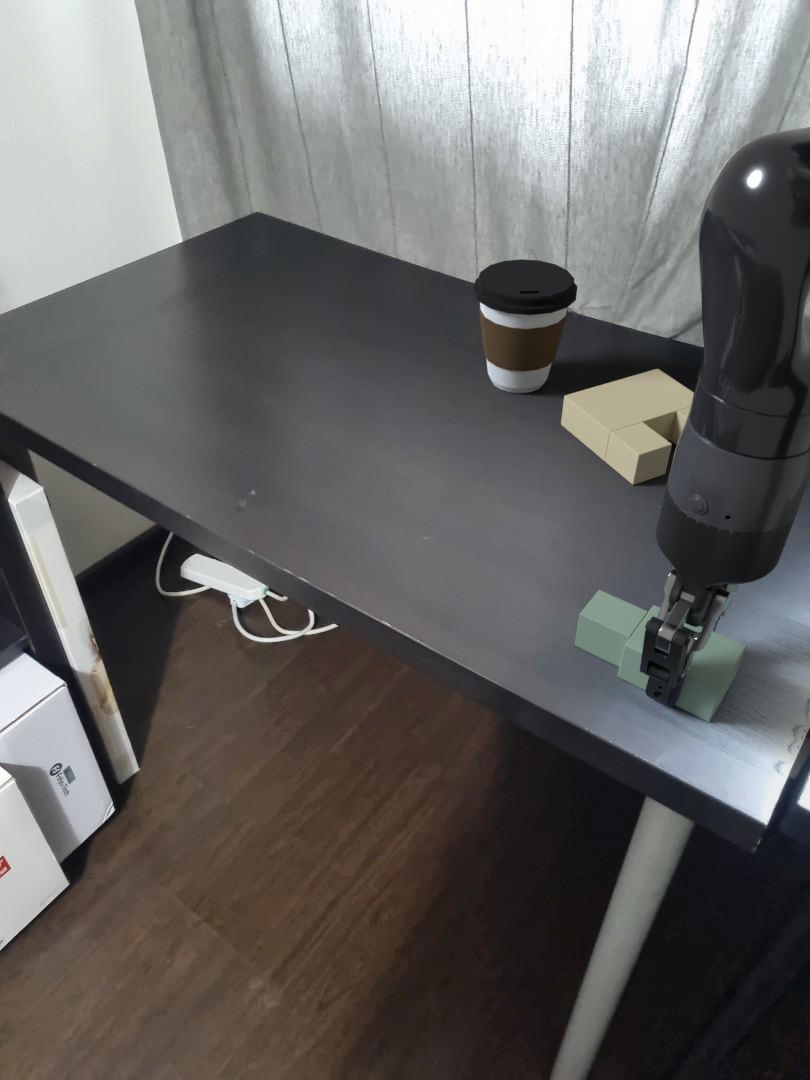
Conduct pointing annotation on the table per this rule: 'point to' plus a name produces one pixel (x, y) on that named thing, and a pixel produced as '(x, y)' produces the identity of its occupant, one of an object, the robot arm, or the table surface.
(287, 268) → the table surface
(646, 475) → the notch pad
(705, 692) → the pad
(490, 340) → the coffee cup
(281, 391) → the table surface
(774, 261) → the robot arm
